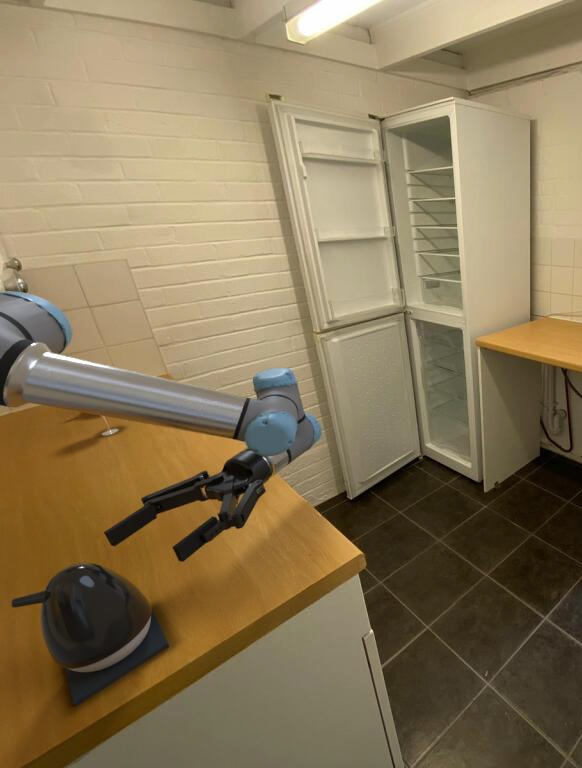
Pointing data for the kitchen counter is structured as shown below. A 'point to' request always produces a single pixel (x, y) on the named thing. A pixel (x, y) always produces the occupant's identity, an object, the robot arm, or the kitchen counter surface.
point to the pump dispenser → (90, 617)
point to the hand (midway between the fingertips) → (142, 547)
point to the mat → (117, 666)
